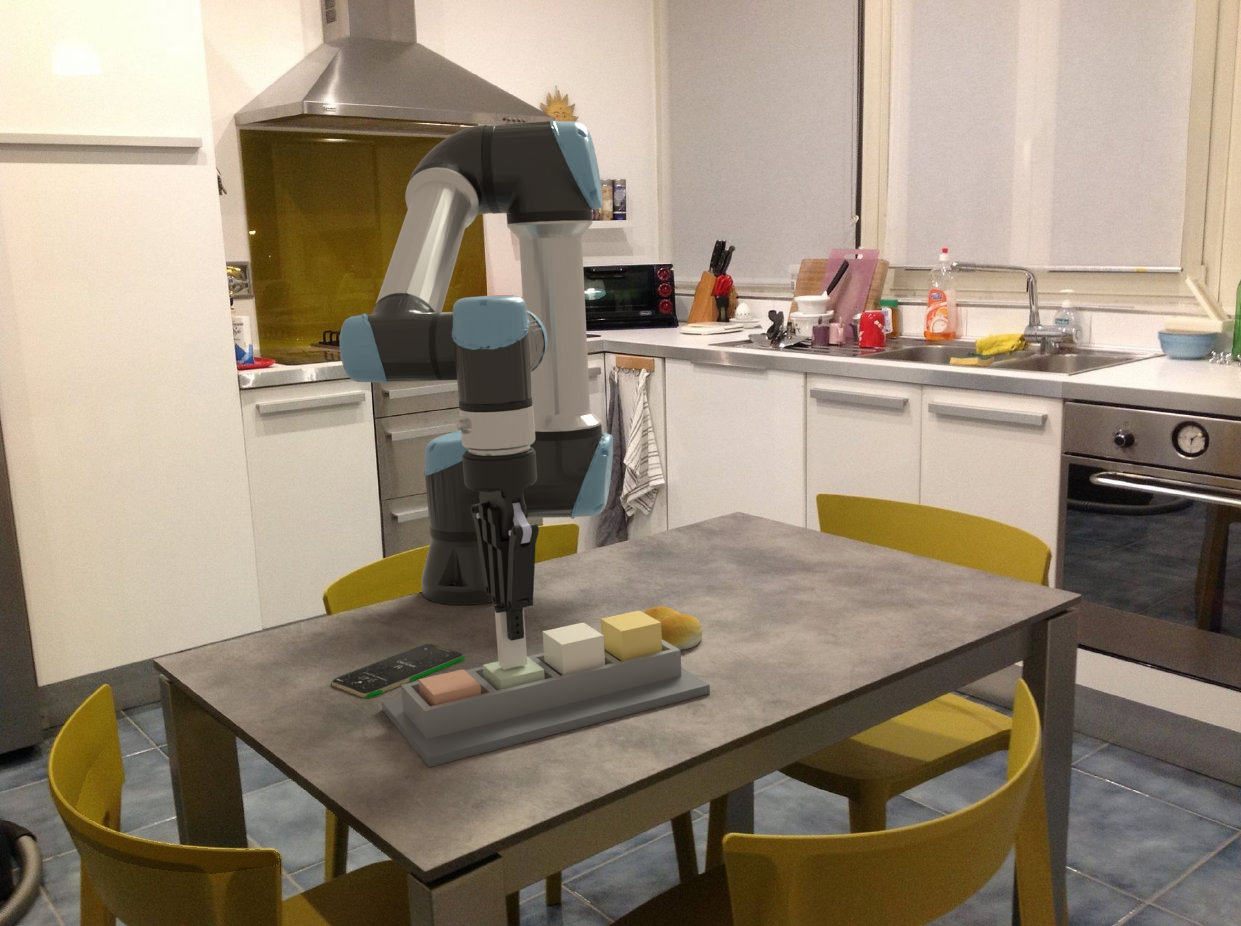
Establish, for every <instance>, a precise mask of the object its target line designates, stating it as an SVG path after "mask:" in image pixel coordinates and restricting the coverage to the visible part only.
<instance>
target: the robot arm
mask: <svg viewBox="0 0 1241 926" xmlns="http://www.w3.org/2000/svg"><path fill="white" fill-rule="evenodd" d="M598 163H599V162H598V159H597V154H596V150H595V146H594V142H593V138H592V135H591V133H590V131H589V129H588V128H587V127H586V125H584V124H583V123H582V122H579V121H565V120H564V121H562V120H561V121H559V120H549V121H536V122H535V121H534V122H521V123H507V124H492V125H488V124H481V125H473V126H469V127H467V128H464V129H461V130H459V131H456V132H455V133H453V134H451V135H449V136H447V137H446V138H445V139H443V140H441V142H439V143H438V144H437V145H435V146H434V147H433V148H432V149H431V150H429V152H427V154H425V156H424V157H423V158H422V159H421V160H420V161H419V163H418V164H417V165H416V167H415V168H414V169H413V172H411V173H412V174H411V175H410V178H409V179H408V183H407V185H406V190H405V197H404V199H405V203H406V208H407V211H406V214H405V216H404V219H403V223H402V226H401V229H400V231H399V233H398V234H399V235H398V238H397V241H396V243H395V246H394V249H393V252H392V254H391V258H390V261H389V263H388V266H387V268H386V269H387V270H386V272H385V276H384V278H383V281H382V285H381V288H380V291H379V293H378V296H377V299H376V302H375V305H374V307H373V310H372V312H371V314H367V313H366V312H365V313H364V312H363V313H362V314H359V315H352V316H350V317H348V318H346V319H345V320H344V322H343V323H342V325H341V330H340V333H339V354H340V360H341V364H342V365H343V369H344V372H345V374H346V375H347V376H348V378H349V379H350V380H352V381H354V382H357V383H377V384H378V383H379V384H380V383H382V384H383V385H387V384H393V383H396V384H397V383H413V382H414V383H417V382H433V381H434V382H435V381H456V383H457V396H458V408H459V410H458V411H459V419H460V420H457V421H456V422H455V426H456V429H457V431H452V432H450V433H446V434H442V435H439V436H437V437H435V438H433V439H431V441H429V442H428V443H427V444H426V447H425V448H424V471H423V476H424V477H425V488H426V489H425V490H426V500H427V513H428V523H429V535H430V540H429V541H430V542H429V546H428V551H427V556H426V558H425V563H424V567H423V571H422V575H421V588H422V589H421V591H422V596H423V597H424V598H426V599H428V601H432V602H435V603H438V604H446V605H476V604H479V605H480V604H485V603H486V604H487V603H492V604H493V605H494V606H493V607H494V608H493V609H494V615H495V616H494V617H495V619H494V620H495V630H496V631H495V633H496V644H497V645H496V646H497V660H498V661H497V662H498V663H499V666H500V667H501V668H502V669H504V670H505V669H509V668H513V667H518V666H522V665H527V656H528V651H527V639H526V637H527V636H526V623H525V619H526V618H525V608H529V607H532V606H534V605H533V604H534V591H535V590H534V586H535V569H536V568H535V567H536V566H535V565H536V546H537V545H536V543H537V540H538V536H539V531H540V530H539V529H540V528H539V525H538V523H537V522H531V523H529V522H528V520H527V519H542V518H543V519H547V518H551V519H553V518H570V519H572V520H574V519H575V518H581V517H595V516H598V515H600V514H601V513H602V512H603V511H604V510H605V508H606V506H607V502H608V499H609V493H610V486H611V478H612V468H613V455H614V438H613V435H612V434H610V433H608V432H603V429H602V428H603V426H602V420H601V418H600V417H598V416H597V415H596V414H595V413H594V412H592V409H591V403H590V401H591V400H590V380H589V378H590V377H589V361H588V360H589V359H588V358H589V357H588V340H587V339H588V338H587V335H588V334H587V320H586V319H587V317H586V315H587V314H586V296H585V295H586V294H585V276H584V256H583V255H584V254H583V236H584V233H586V232H587V230H588V229H589V228H590V227H591V225H592V224H593V211H598V210H599V209H601V208H602V207H603V204H604V203H603V192H602V182H601V181H602V180H601V175H600V170H599V165H598ZM486 214H494V215H495V214H506V226H507V228H508V229H509V230H510V231H511V232H512V233H513V234H514V235H516V237H517V239H518V240H519V241H518V242H519V256H520V257H519V259H520V261H519V262H520V275H521V276H520V278H521V279H520V280H521V292H522V297H521V296H519V295H513V294H512V295H511V294H510V295H507V294H504V295H503V294H500V295H482V296H470V297H462V298H459V299H458V300H457V299H456V301H455V302H454V304H453V307H452V311H446V312H445V311H444V312H443V308H444V304H445V302H446V297H447V293H448V290H449V287H450V283H451V280H452V276H453V272H454V270H455V266H456V262H457V259H458V254H459V251H460V247H461V246H462V245H461V243H462V240H463V237H464V233H465V231H466V230H465V229H466V228H468V227H470V225H472V223H473V222H474V221H475V219H476V218H477V216H480V215H486Z"/></svg>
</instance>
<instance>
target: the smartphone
mask: <svg viewBox="0 0 1241 926" xmlns="http://www.w3.org/2000/svg"><path fill="white" fill-rule="evenodd" d="M463 661H465V656H464V654H462V653H461V652H458V651H456V650H452V649H448V648H446V647H442V646H439V645H435V644H432V643H426V644H425V643H424V644H422V645H419V646H416V647H413V648H410V649H407V650H405V651H403V652H400V653H398V654H395V655H392V656H390V657H388V658H385V659H382V660H379V661H376V662H374V663H372V664H371V663H370V664H369V665H366V666H363V667H361V668H359V669H356V670H354V671H351V672H348V673H345V674H342V675H340V676H337V677H334V678H333V679H332V680H331V682H330V685H331V687H334V688H335V689H339V690H341V691H344V692H347V693H349V694H352V695H355V696H358V697H360V698H363V699H372V698H373V699H374V698H375V697H376V698H377V697H378V696H381V695H383V694H384V693H387V692H390V691H391V690H392V691H393V690H395V689H397V688H399V687H400V686H401V685H403V684H407V683H412V682H416V681H418V680H419V679H422V678H426V677H427V676H429V675H430V676H431V674H434V673H437V672H439V671H441V670H445V669H447V668H449V667H452V666H454V665H456V664H459V663H461V662H463Z"/></svg>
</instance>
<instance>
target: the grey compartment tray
mask: <svg viewBox="0 0 1241 926" xmlns="http://www.w3.org/2000/svg"><path fill="white" fill-rule="evenodd" d="M681 651H682V650H680V649H678V648H676V647H674V646H673V645H671V644H669V643H668V642H666V641H664V640H662V652H658V653H653V654H649V655H645V656H641V657H637V658H632V659H628V660H624V661H621V660H620V659H618V658H617V657H615V656H614V655H612V654H611V653H609V652H608V651H606V650H604V654H605V665H603V666H599V667H595V668H590V669H586V670H582V671H578V672H574V673H569V674H565V675H562V674H561V673H559V672H558V671H557V670H555V669H554V668H553V667H551V666H550V665H549V664H547V663H546V662H545V661H544V652H542V653H536V654H532V655H527V657H529V658H530V659H531V660H532V661H534V662H535V663H536V664H538V665H539V666H540V667H542V668H543V669H544V675H545V679H544V680H540V681H536V682H531V683H527V684H523V685H519V686H515V687H510V688H506V689H502V690H498V691H497V690H496V689H494V688H493V687H492V686H491V685H490V684H489V683H488V682H487V681H485V680H484V674H483V666H478V667H474V668H470V669H467V670H466V669H464V670H465V671H466V672H467V673H468V674H469V675H471V676H472V677H473V678H474V679H475V680H476V681H477V682H478V683H479V684H480V686H481V695H477V696H473V697H468V698H464V699H460V700H456V701H452V702H447V703H443V704H439V705H435V706H431V707H430V706H429V705H428V704H427V703H426V702H425V701H424V700H423V698H422V697H421V696H420V691H419V680H415V681H413V682H409V683H406V684H403V685H401V687H400V689H401V696H399V697H395V698H389V699H386V700H381V710H382V712H383V713H384V714H385V715H386V716H387V717H388V718H389V720H390V721H391V722H392V723H393V725H394V726H395V727H396V729H397V730H398V731H399V732H400V733H401V734H402V736H403V737H404V738H405V739H406V740H407V742H408V743H409V744H410V745H411V747H413V749H414V750H415V751H416V753H417V754H418V755H419V756H420V757H421V758H422V759H421V760H423V761H424V762H425V764H426V765H427V766H428V767H429V768H431V767H435V766H440V765H443V764H447V763H449V762H451V763H452V762H455V761H458V760H462V759H467V758H469V757H472V756H473V757H474V756H477V755H481V754H485V753H489V752H492V751H493V752H494V751H496V750H500V749H503V748H507V747H510V746H515V745H518V744H523V743H526V742H531V741H534V740H538V739H542V738H545V737H550V736H552V735H557V734H561V733H564V732H568V731H571V730H572V731H573V730H576V729H579V728H584V727H587V726H591V725H592V726H593V725H595V724H598V723H602V722H603V723H604V722H607V721H610V720H614V719H618V718H621V717H626V716H630V715H632V714H637V713H640V712H644V711H648V710H652V709H656V708H659V707H662V706H667V705H671V704H675V703H679V702H683V701H687V700H690V699H695V698H698V697H702V696H705V695H709V694H710V693H711V687H710V686H711V684H709V683H708V682H706V681H704V680H702V679H701V678H699V677H698V676H696V675H694V674H693V673H692V672H689V670H686V669H684V668H683V667H682V656H681V655H682V654H681Z"/></svg>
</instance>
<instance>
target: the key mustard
mask: <svg viewBox="0 0 1241 926" xmlns="http://www.w3.org/2000/svg"><path fill="white" fill-rule="evenodd" d="M643 612H644V611H642V610H635V611H630V612H625V613H621V614H617V615H613V616H607V617H604V618H603V617H602V618H600V627H601V628H600V630H601V631H600V633H601V634H602V635H604V650H606V651H608V652H609V653H611V654H612V655H614V656H615V657H617V658H618V659H620V660H621V661H624V660H628V659H632V658H637V657H641V656H645V655H649V654H653V653H658V652H662V633H661V622H659V621H658V620H656V619H654V618H652V617H650V616H649V615H647V614H645V613H643Z"/></svg>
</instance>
